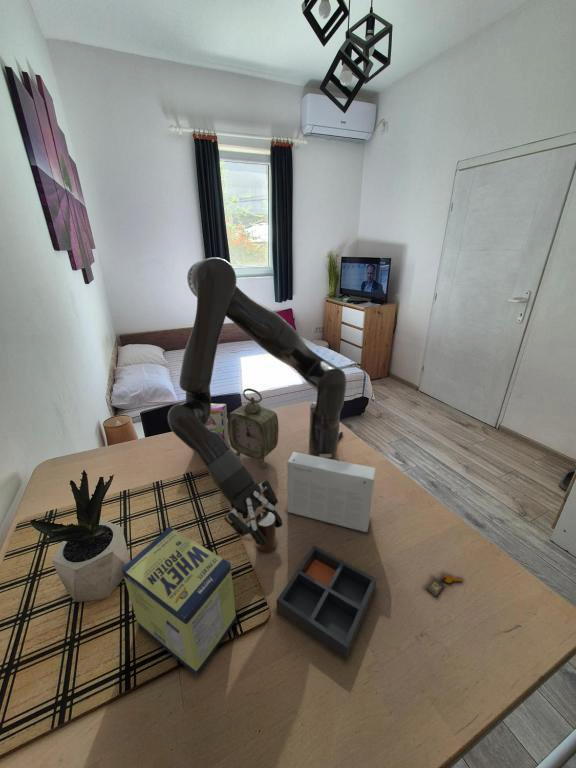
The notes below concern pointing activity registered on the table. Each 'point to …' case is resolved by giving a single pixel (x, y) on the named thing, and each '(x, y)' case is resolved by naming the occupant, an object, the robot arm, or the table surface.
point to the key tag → (440, 584)
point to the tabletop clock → (253, 429)
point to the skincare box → (330, 490)
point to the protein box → (182, 597)
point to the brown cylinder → (267, 530)
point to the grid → (327, 599)
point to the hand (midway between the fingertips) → (272, 534)
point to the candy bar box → (218, 420)
